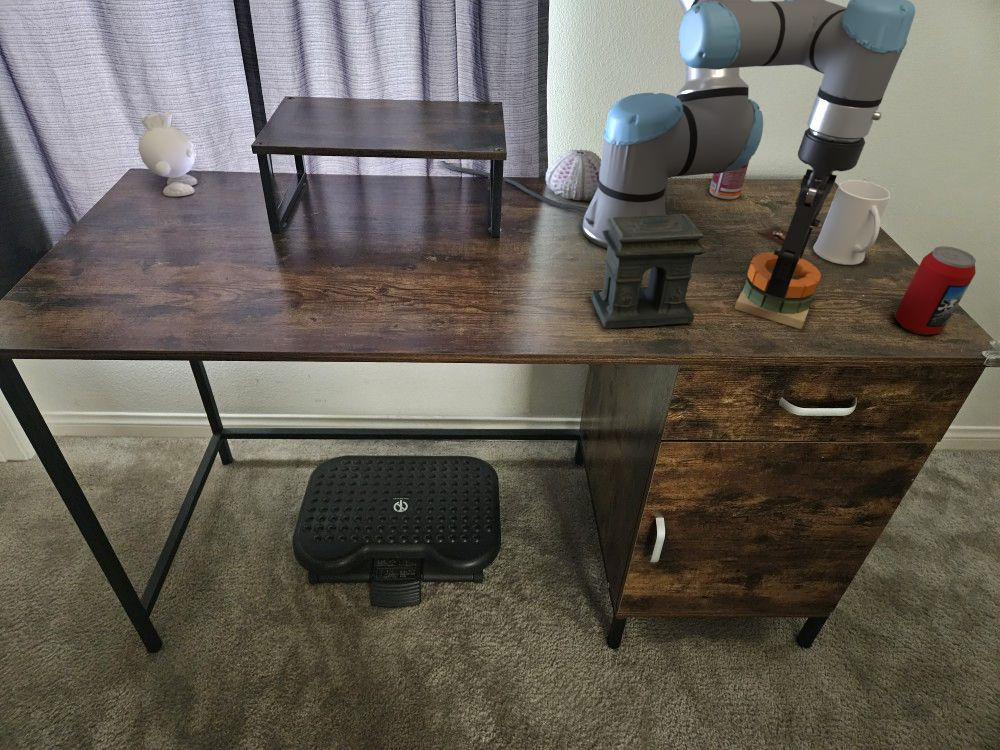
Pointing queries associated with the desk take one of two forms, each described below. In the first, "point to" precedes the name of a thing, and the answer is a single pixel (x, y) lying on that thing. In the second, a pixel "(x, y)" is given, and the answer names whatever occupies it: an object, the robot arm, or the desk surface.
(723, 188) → the pill bottle
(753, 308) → the stacker
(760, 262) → the orange ring
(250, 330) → the desk surface
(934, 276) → the beverage can
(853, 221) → the mug
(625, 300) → the model
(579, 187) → the sea urchin shell
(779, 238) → the diorama
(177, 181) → the white cartoon figurine
